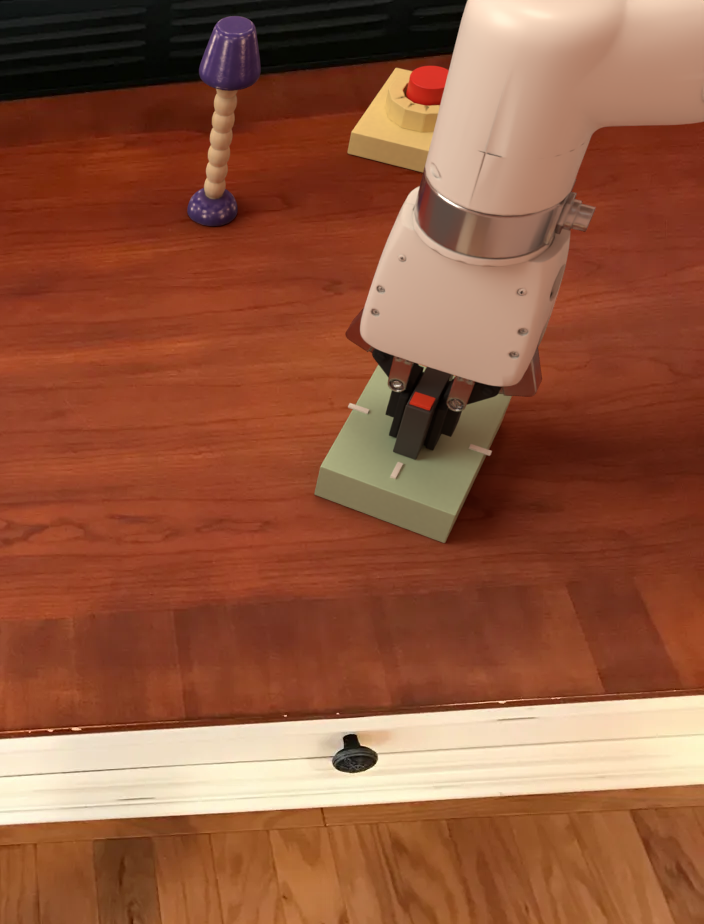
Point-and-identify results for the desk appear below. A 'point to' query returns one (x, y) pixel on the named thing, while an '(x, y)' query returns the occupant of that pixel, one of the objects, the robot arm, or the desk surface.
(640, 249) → the desk surface
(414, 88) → the button
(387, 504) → the panel
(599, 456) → the desk surface
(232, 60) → the toy lamp
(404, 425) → the black rectangular block
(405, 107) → the button block
